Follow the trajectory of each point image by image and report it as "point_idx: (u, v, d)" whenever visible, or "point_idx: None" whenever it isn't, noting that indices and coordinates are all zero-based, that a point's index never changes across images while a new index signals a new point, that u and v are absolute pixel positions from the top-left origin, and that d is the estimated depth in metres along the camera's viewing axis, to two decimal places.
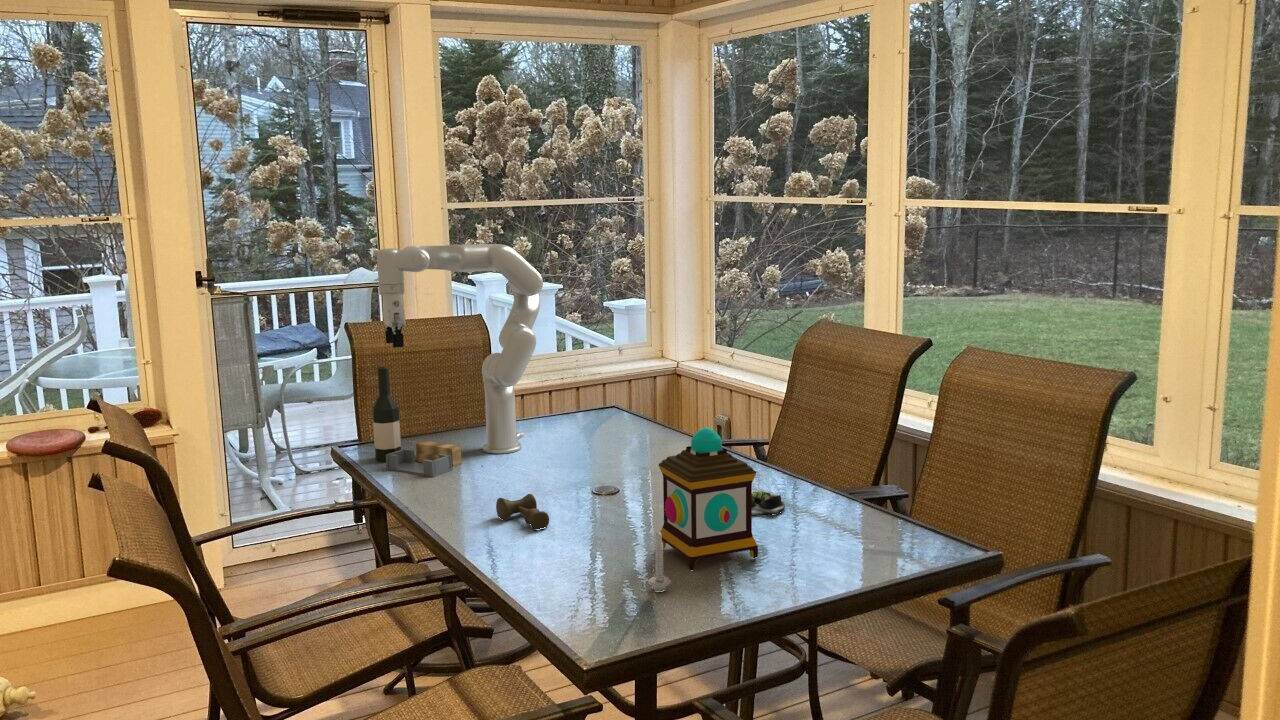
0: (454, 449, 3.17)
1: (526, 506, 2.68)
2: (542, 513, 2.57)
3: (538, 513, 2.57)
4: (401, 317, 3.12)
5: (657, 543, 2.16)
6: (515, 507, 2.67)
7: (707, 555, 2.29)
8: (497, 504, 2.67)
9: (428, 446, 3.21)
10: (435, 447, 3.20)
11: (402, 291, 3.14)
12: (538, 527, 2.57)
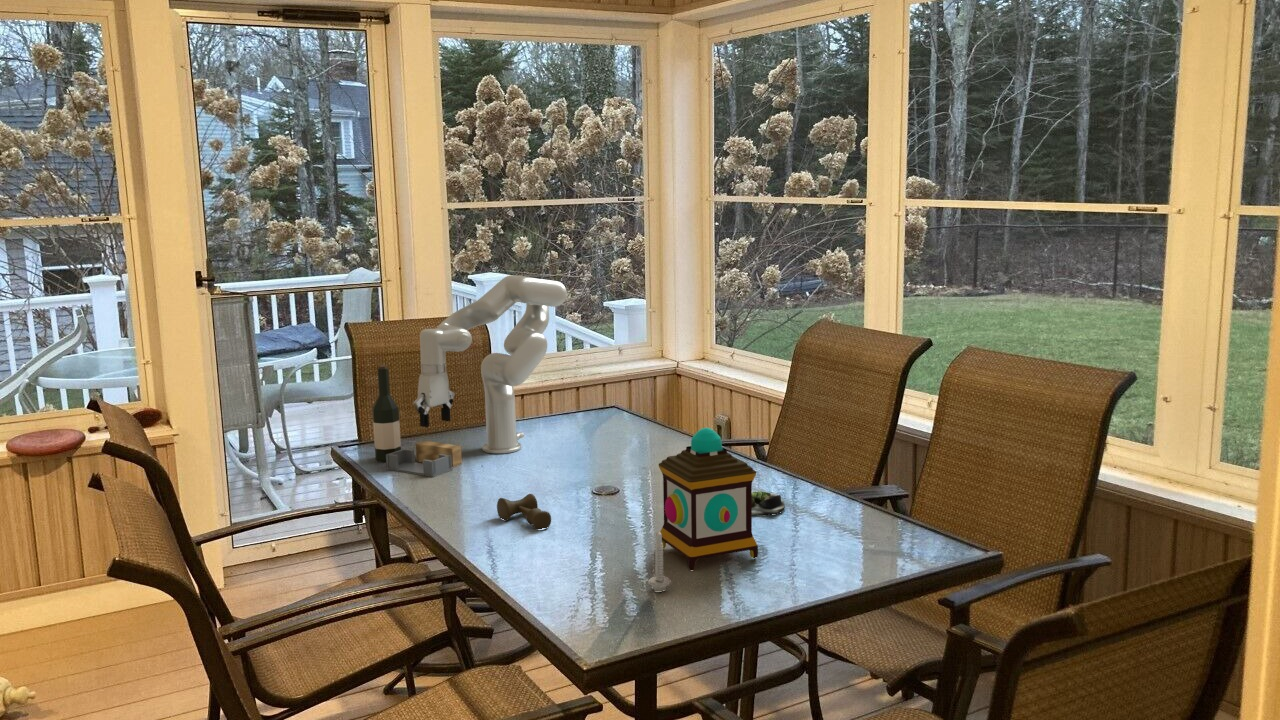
0: (454, 449, 3.17)
1: (527, 506, 2.68)
2: (544, 513, 2.58)
3: (540, 513, 2.57)
4: None
5: (657, 543, 2.16)
6: (516, 507, 2.67)
7: (707, 555, 2.29)
8: (498, 504, 2.67)
9: (428, 446, 3.21)
10: (435, 447, 3.20)
11: None
12: (540, 527, 2.57)
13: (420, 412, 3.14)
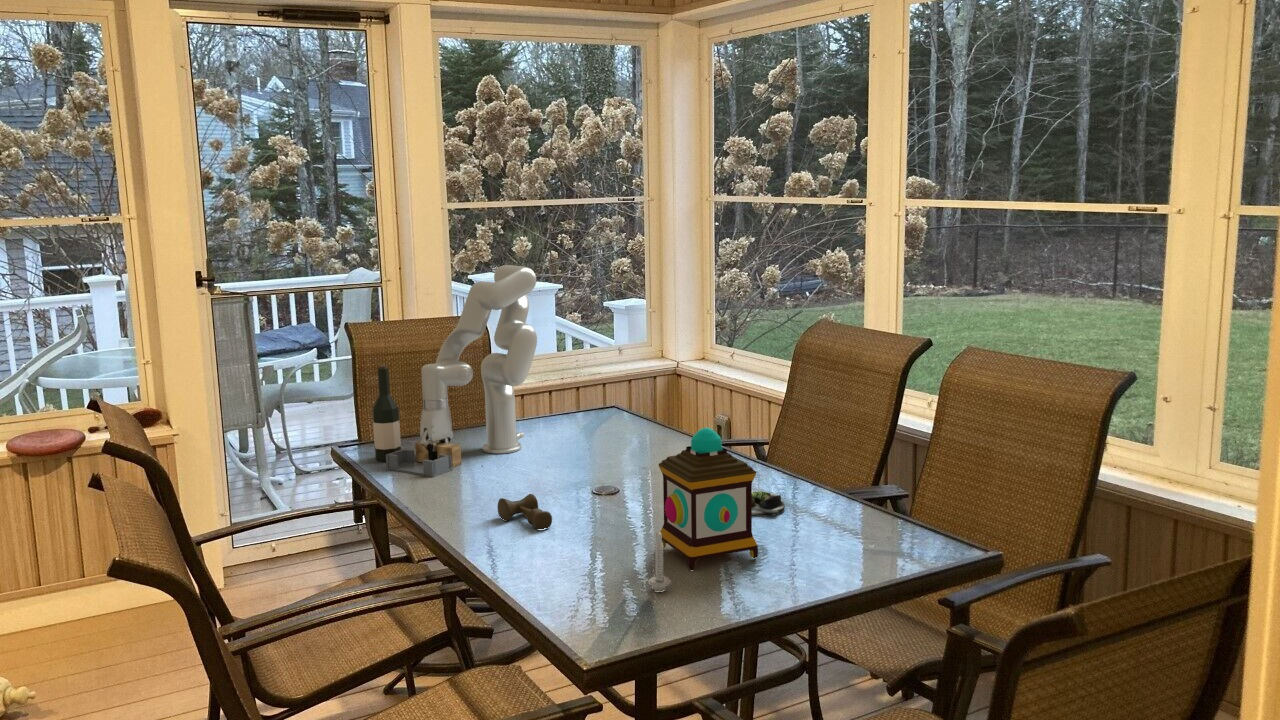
0: (454, 448, 3.17)
1: (528, 506, 2.68)
2: (545, 513, 2.57)
3: (541, 513, 2.57)
4: None
5: (657, 543, 2.16)
6: (517, 507, 2.67)
7: (707, 555, 2.29)
8: (499, 505, 2.67)
9: None
10: None
11: None
12: (541, 527, 2.57)
13: (428, 449, 3.18)
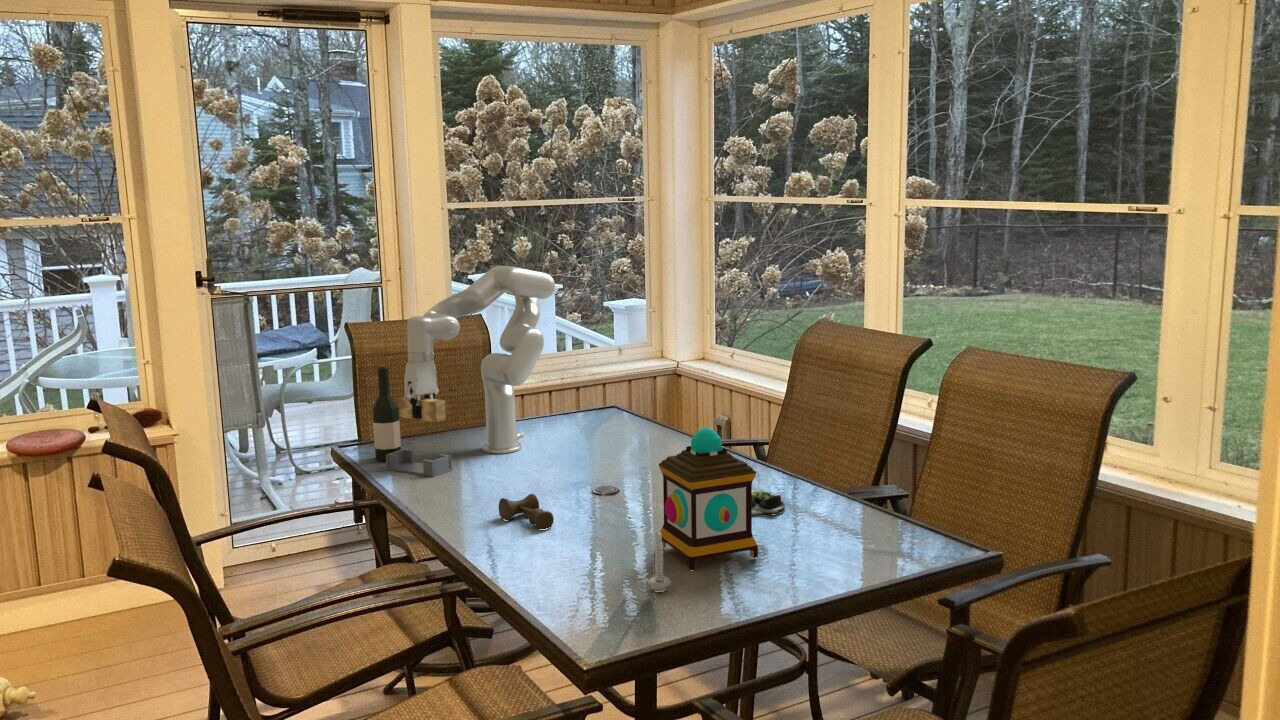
0: (438, 403, 3.10)
1: (529, 506, 2.68)
2: (547, 513, 2.57)
3: (543, 513, 2.57)
4: None
5: (657, 544, 2.16)
6: (518, 507, 2.66)
7: (707, 555, 2.29)
8: (500, 505, 2.67)
9: None
10: None
11: None
12: (543, 527, 2.57)
13: (412, 403, 3.11)
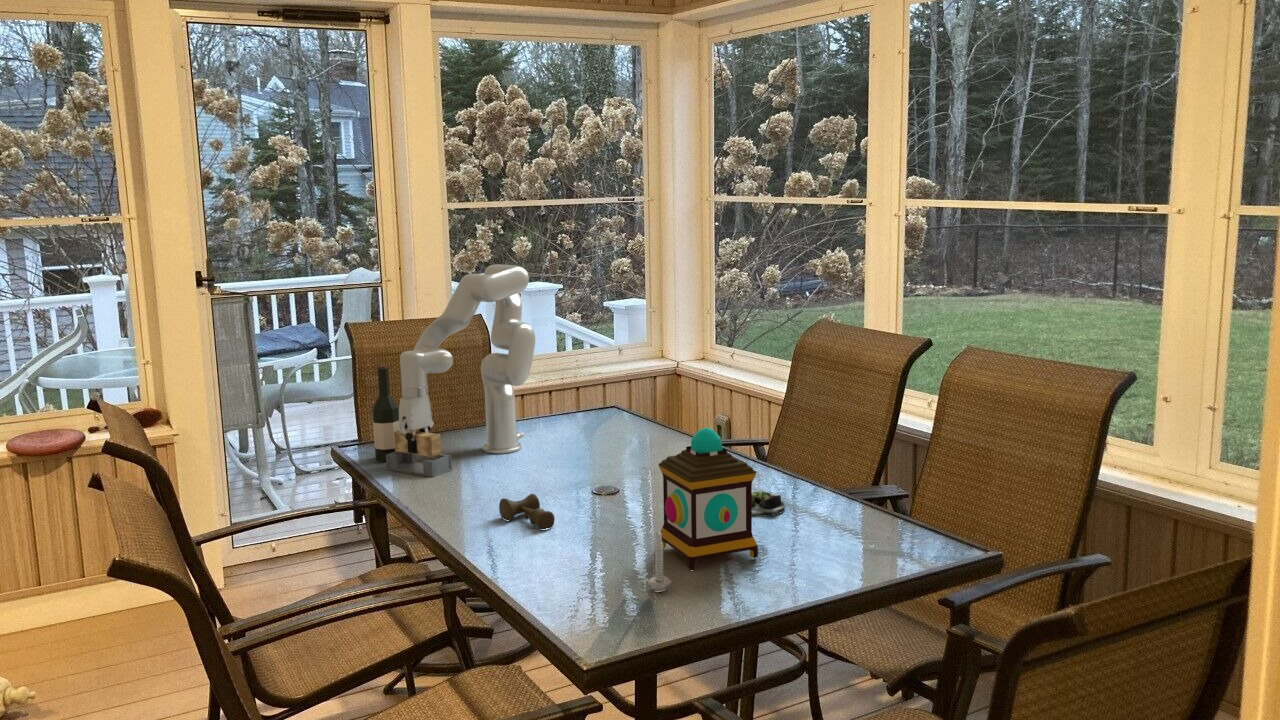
0: (433, 437, 3.09)
1: (529, 506, 2.68)
2: (548, 513, 2.58)
3: (544, 513, 2.57)
4: None
5: (657, 543, 2.16)
6: (518, 507, 2.66)
7: (707, 555, 2.29)
8: (500, 505, 2.66)
9: None
10: None
11: None
12: (544, 527, 2.57)
13: (408, 438, 3.10)
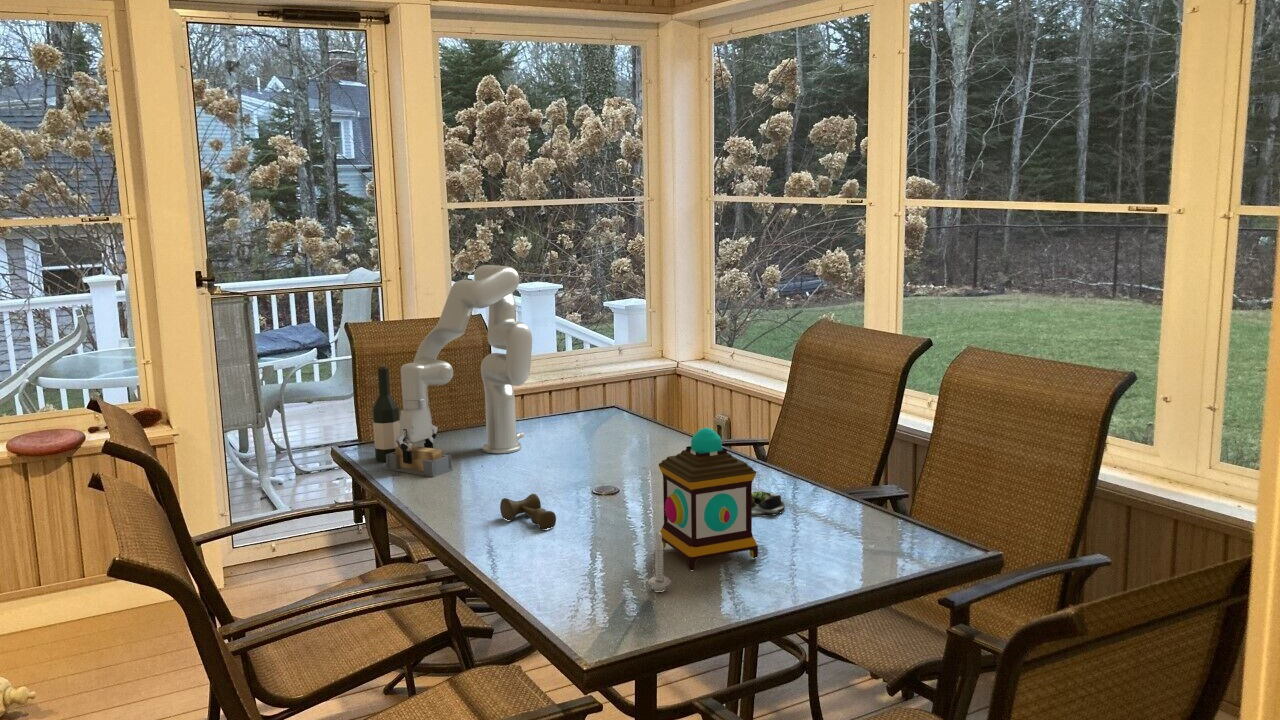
0: (435, 453, 3.10)
1: (530, 506, 2.68)
2: (549, 513, 2.58)
3: (546, 513, 2.57)
4: None
5: (657, 543, 2.16)
6: (520, 507, 2.66)
7: (707, 555, 2.29)
8: (501, 505, 2.66)
9: None
10: (415, 451, 3.12)
11: None
12: (546, 527, 2.57)
13: (403, 449, 3.09)
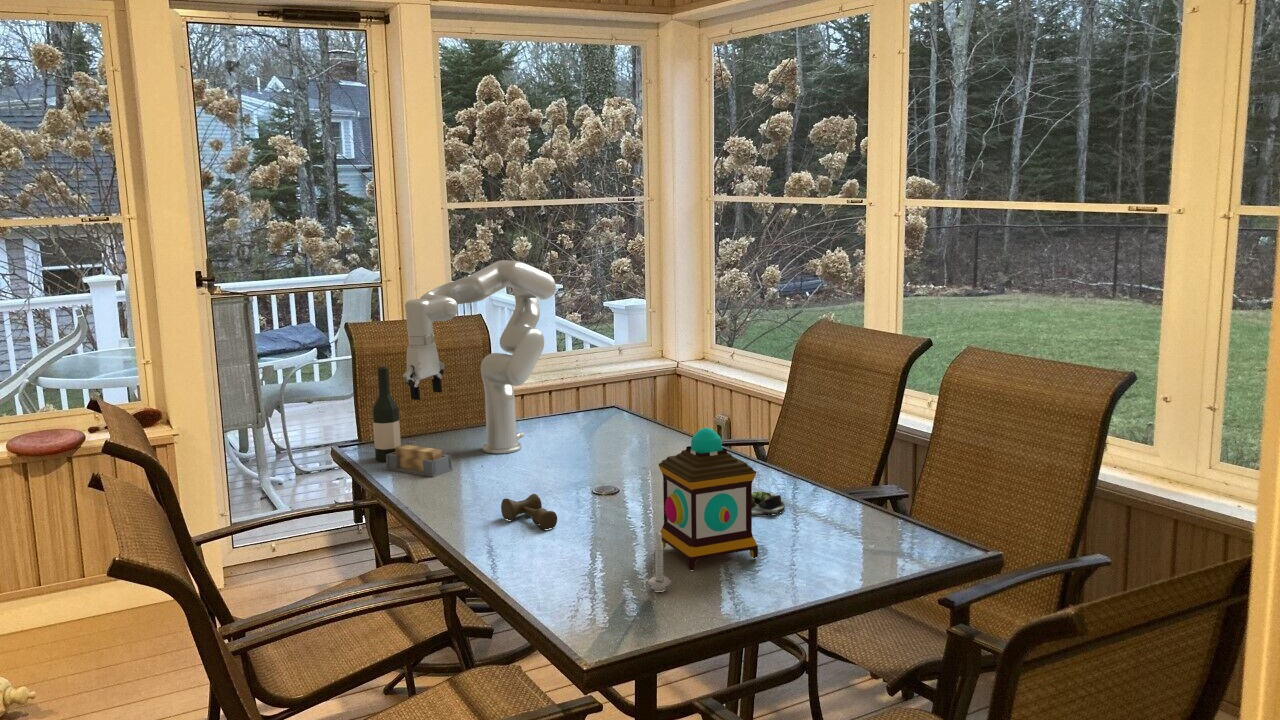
0: (435, 453, 3.10)
1: (531, 506, 2.68)
2: (551, 513, 2.58)
3: (547, 513, 2.57)
4: None
5: (657, 543, 2.16)
6: (521, 507, 2.66)
7: (707, 555, 2.29)
8: (502, 505, 2.66)
9: (408, 450, 3.14)
10: (415, 451, 3.12)
11: None
12: (547, 527, 2.57)
13: (410, 385, 3.08)
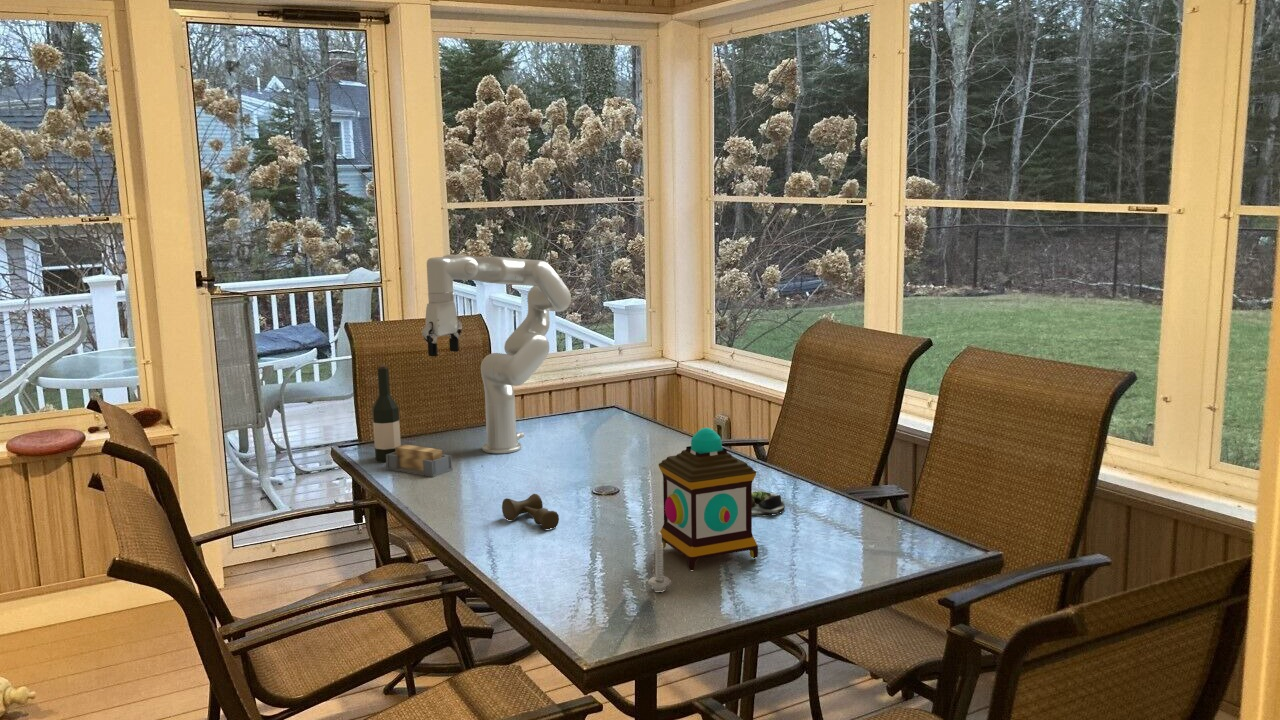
0: (435, 453, 3.10)
1: (532, 506, 2.68)
2: (552, 512, 2.58)
3: (549, 513, 2.57)
4: None
5: (657, 543, 2.16)
6: (522, 507, 2.66)
7: (707, 555, 2.29)
8: (503, 505, 2.66)
9: (408, 450, 3.14)
10: (415, 451, 3.12)
11: None
12: (549, 527, 2.57)
13: (428, 341, 3.11)
